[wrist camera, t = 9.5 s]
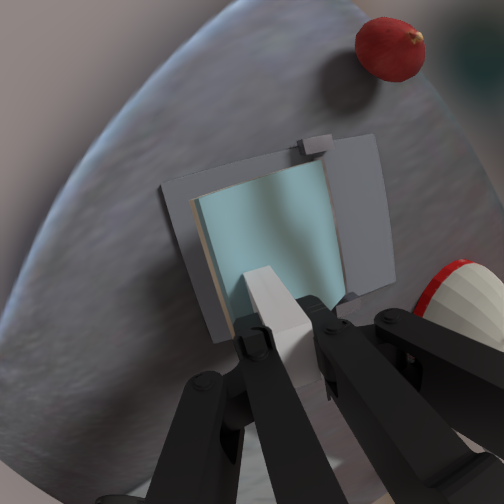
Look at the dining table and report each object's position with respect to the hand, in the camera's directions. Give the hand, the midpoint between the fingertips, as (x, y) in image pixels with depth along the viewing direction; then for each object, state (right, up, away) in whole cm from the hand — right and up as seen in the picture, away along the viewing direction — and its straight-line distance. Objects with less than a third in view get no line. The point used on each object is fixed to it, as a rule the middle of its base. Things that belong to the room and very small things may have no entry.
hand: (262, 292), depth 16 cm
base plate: (+3, +3, +9) cm, 10 cm away
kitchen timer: (+24, -5, +15) cm, 28 cm away
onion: (+10, +19, +6) cm, 23 cm away
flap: (+3, +2, +3) cm, 5 cm away
